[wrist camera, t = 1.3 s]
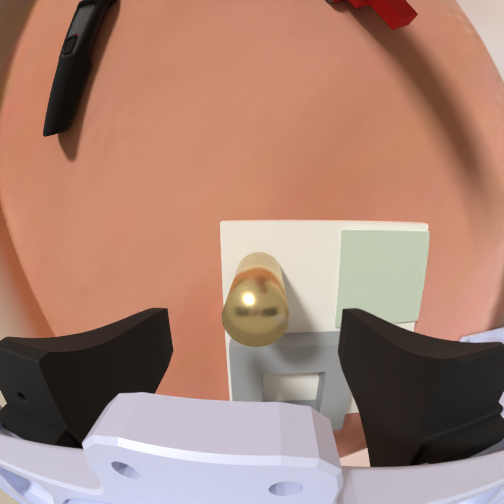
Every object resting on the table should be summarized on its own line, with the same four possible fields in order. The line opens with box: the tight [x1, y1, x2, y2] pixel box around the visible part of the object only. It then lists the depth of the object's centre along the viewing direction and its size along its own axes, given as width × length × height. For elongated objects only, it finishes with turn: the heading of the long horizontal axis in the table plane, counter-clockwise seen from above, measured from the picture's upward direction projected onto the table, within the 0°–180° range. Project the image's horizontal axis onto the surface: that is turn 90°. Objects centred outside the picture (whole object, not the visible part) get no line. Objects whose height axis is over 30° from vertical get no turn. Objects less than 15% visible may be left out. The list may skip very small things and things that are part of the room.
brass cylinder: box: [222, 252, 289, 347], centre depth 16 cm, size 3×3×7 cm
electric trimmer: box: [43, 0, 116, 137], centre depth 16 cm, size 4×15×3 cm, turn 172°
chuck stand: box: [220, 220, 430, 431], centre depth 20 cm, size 15×17×3 cm
